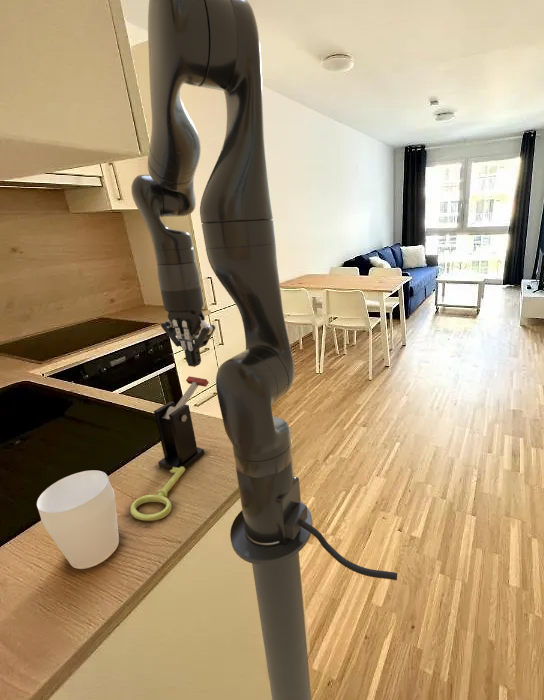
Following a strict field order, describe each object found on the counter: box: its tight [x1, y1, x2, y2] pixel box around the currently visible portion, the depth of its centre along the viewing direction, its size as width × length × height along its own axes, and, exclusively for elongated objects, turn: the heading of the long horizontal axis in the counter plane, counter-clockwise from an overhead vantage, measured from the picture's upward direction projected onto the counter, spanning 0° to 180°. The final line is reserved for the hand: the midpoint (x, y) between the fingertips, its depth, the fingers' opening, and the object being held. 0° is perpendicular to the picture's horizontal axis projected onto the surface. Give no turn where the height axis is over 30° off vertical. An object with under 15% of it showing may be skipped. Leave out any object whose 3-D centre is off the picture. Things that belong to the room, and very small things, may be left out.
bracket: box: [153, 401, 205, 471], centre depth 75 cm, size 7×6×13 cm
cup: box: [36, 469, 120, 570], centre depth 55 cm, size 9×9×12 cm
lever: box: [162, 376, 210, 424], centre depth 76 cm, size 11×5×2 cm, turn 157°
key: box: [129, 467, 186, 522], centre depth 67 cm, size 7×12×2 cm, turn 6°
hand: (194, 365), depth 78 cm, fingers closed
